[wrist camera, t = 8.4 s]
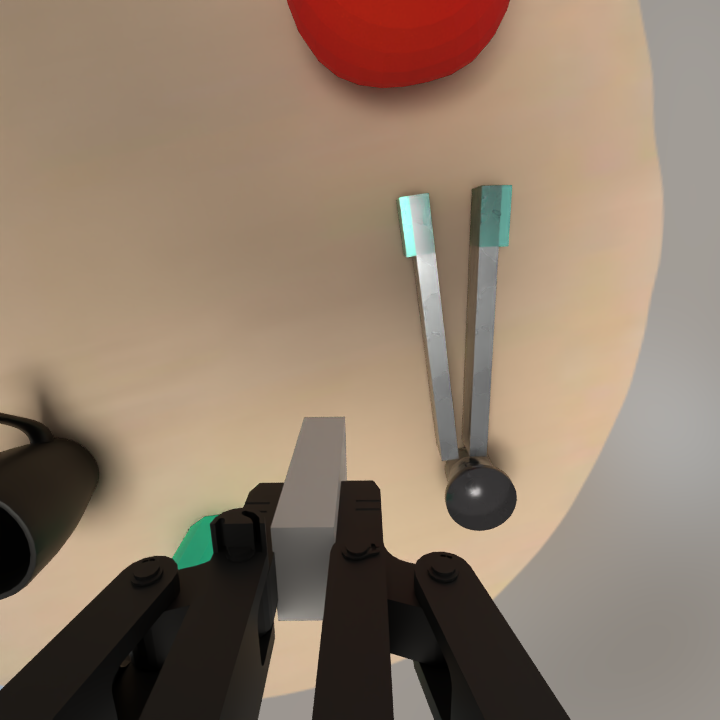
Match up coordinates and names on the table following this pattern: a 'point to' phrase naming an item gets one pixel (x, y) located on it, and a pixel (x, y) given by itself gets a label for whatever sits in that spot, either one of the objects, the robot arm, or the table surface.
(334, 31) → the tomato
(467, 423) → the tongs fixed
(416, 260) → the bar
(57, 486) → the mug
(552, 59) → the table surface
